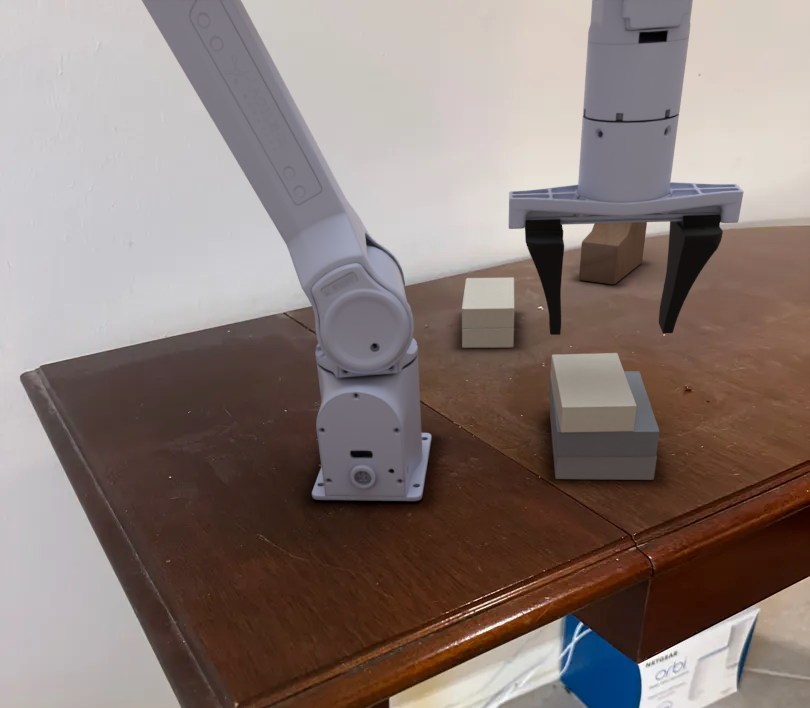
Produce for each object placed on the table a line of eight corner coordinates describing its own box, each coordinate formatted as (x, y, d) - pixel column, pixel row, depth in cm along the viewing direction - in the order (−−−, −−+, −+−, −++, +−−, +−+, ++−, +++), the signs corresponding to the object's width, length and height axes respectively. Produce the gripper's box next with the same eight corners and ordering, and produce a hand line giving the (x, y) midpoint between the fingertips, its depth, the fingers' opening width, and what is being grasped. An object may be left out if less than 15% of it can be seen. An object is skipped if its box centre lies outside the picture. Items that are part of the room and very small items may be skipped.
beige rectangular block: (633, 431, 56) (636, 405, 55) (560, 432, 57) (562, 407, 56) (614, 376, 64) (617, 352, 62) (550, 378, 64) (551, 354, 63)
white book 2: (513, 347, 79) (513, 328, 78) (462, 348, 80) (461, 328, 79) (513, 314, 87) (513, 296, 85) (466, 315, 87) (466, 296, 86)
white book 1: (513, 328, 78) (514, 307, 77) (461, 328, 79) (461, 308, 78) (513, 296, 85) (514, 277, 84) (466, 296, 86) (465, 278, 85)
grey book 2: (653, 480, 59) (657, 456, 57) (555, 479, 59) (556, 455, 58) (636, 416, 67) (639, 394, 65) (550, 416, 67) (551, 394, 66)
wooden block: (614, 286, 92) (632, 108, 82) (577, 280, 94) (590, 106, 84) (643, 263, 98) (662, 94, 88) (607, 258, 100) (622, 93, 90)
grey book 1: (656, 456, 57) (659, 431, 56) (555, 456, 58) (557, 431, 57) (636, 394, 65) (639, 370, 64) (548, 394, 66) (549, 372, 65)
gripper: (739, 99, 52) (704, 307, 60) (510, 109, 54) (506, 310, 62) (767, 117, 46) (725, 344, 54) (510, 128, 48) (506, 346, 56)
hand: (609, 328), depth 58 cm, fingers open, 7 cm apart
